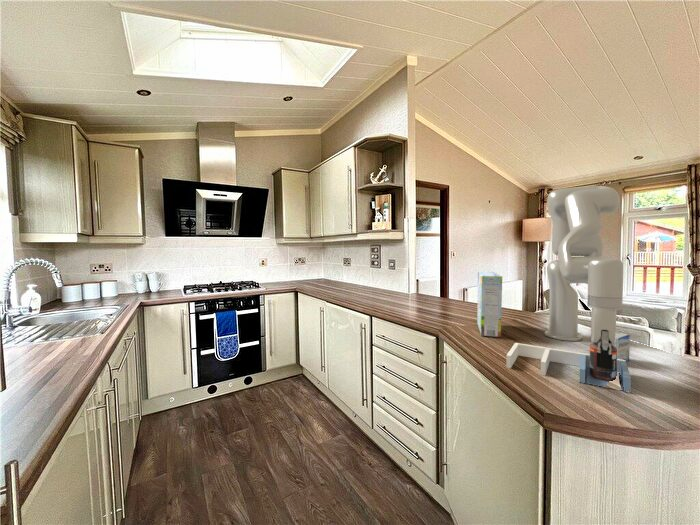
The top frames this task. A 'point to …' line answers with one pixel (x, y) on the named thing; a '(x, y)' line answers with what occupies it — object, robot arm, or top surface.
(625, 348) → the medicine box
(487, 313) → the snack box
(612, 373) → the supplement bottle
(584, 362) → the organizer
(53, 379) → the top surface
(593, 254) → the robot arm
